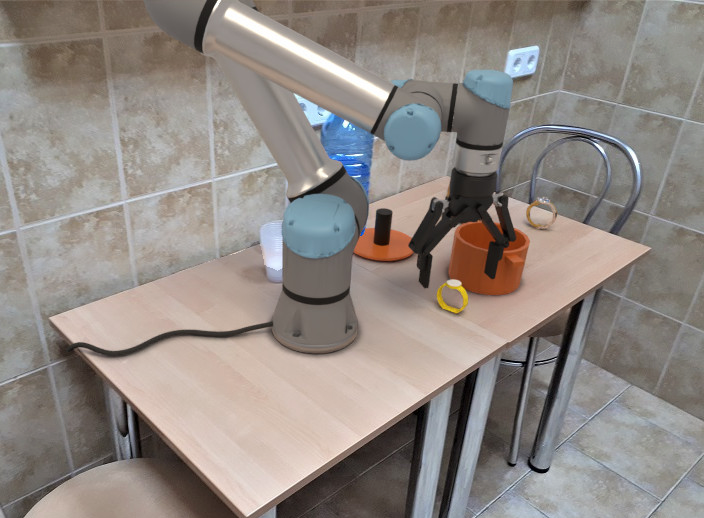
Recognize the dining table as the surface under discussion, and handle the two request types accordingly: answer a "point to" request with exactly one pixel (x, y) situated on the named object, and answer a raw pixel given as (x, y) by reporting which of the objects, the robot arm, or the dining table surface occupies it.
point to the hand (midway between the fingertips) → (456, 280)
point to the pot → (473, 255)
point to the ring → (538, 202)
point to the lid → (383, 240)
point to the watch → (452, 285)
